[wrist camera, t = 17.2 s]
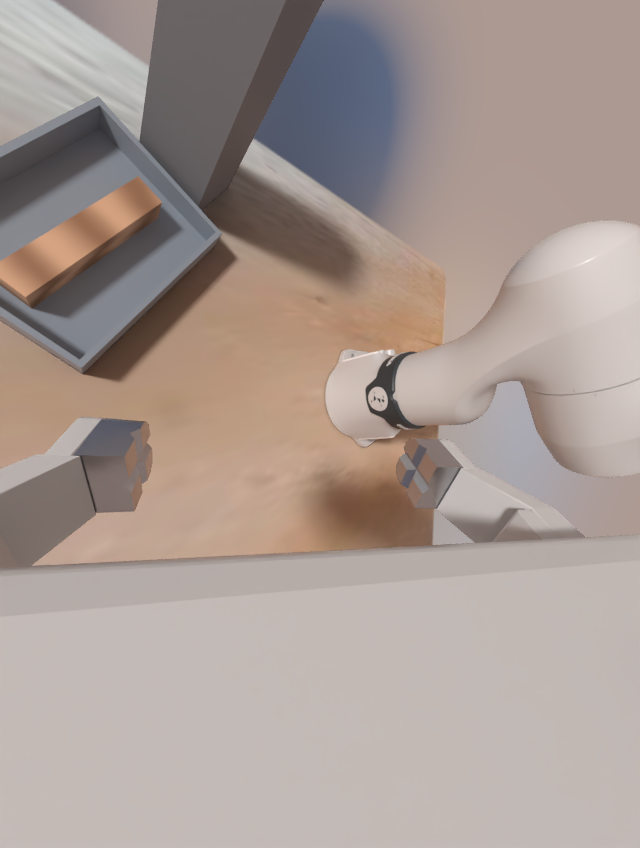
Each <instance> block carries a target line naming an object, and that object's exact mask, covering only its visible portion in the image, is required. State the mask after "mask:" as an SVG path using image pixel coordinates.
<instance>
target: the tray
mask: <svg viewBox="0 0 640 848" xmlns="http://www.w3.org/2000/svg"><path fill="white" fill-rule="evenodd" d="M138 176H139V178H140V179H141V180H142V181H143V182H144V183H145V184H146V185H147V186H148V187H149V188H150V190H151V191H152V192H153V193H154V194H155V195H156V196H157V197H158V198H159V199H160V200H161V202H162V205H161V209H160V212H159V216H158V218H157V219H156V220H154V221H153V222H152V223H150V224H149V225H147V226H146V227H145V228H143V229H142V230H140V231H139V232H138V233H136V234H135V235H133V236H132V237H131V238H129V239H128V240H126V241H125V242H124V243H122V244H121V245H120V246H118V247H117V248H115V249H114V250H113V251H111V252H110V253H108V254H107V255H106V256H104V257H103V258H101V259H100V260H99V261H97V262H96V263H95V264H93V265H92V266H90V267H89V268H88V269H86V270H85V271H83V272H82V273H81V274H79V275H78V276H76V277H75V278H74V279H72V280H71V281H69V282H68V283H67V284H65V285H64V286H63V287H61V288H60V289H58V290H57V291H56V292H54V293H53V294H51V295H50V296H49V297H47V298H46V299H44V300H43V301H42V302H40V303H39V304H37V305H36V306H35V307H33V308H32V309H31V308H30V307H29V306H27V305H26V304H25V303H23V302H22V301H21V300H19V299H18V298H17V297H15V296H14V295H12V294H11V293H10V292H8V291H7V290H6V289H4V288H3V287H2V286H0V321H2V322H3V323H5V324H6V325H8V326H9V327H11V328H12V329H14V330H15V331H17V332H19V333H20V334H22V335H23V336H25V337H26V338H28V339H29V340H31V341H32V342H34V343H36V344H37V345H39V346H40V347H42V348H43V349H45V350H46V351H48V352H49V353H51V354H52V355H54V356H56V357H57V358H59V359H60V360H62V361H63V362H65V363H66V364H68V365H69V366H71V367H73V368H74V369H76V370H77V371H79V372H80V373H82V374H84V373H85V372H86V371H87V370H88V369H89V368H90V367H91V366H92V365H93V364H94V363H95V362H96V361H97V360H98V359H99V358H100V357H101V356H102V355H103V354H104V353H105V352H106V351H107V350H108V349H110V348H111V347H112V346H113V345H114V344H115V343H116V342H117V341H118V340H119V339H120V338H121V337H122V336H123V335H124V334H125V333H126V332H127V331H128V330H129V329H130V328H131V327H132V326H133V325H134V324H135V323H136V322H137V321H138V320H139V319H140V318H142V317H143V316H144V315H145V314H146V313H147V312H148V311H149V310H150V309H151V308H152V307H153V306H154V305H155V304H156V303H157V302H158V301H159V300H160V299H161V298H162V297H163V296H164V295H165V294H166V293H167V292H168V291H169V290H170V289H171V288H172V287H173V286H175V285H176V284H177V283H178V282H179V281H180V280H181V279H182V278H183V277H184V276H185V275H186V274H187V273H188V272H189V271H190V270H191V269H192V268H193V267H194V266H195V265H196V264H197V263H198V262H199V261H200V260H201V259H202V258H203V257H204V256H205V255H207V254H208V253H209V252H210V251H211V250H212V249H213V248H214V246H215V245H216V243H217V241H218V240H219V238H220V236H221V235H222V233H221V231H220V230H219V229H218V228H217V227H216V226H215V225H214V224H213V223H212V222H211V220H210V219H209V218H208V217H207V216H206V215H205V214H204V213H203V212H202V210H201V209H200V208H199V207H198V206H197V205H196V204H195V203H194V202H193V201H192V199H191V198H190V197H189V196H188V195H187V194H186V193H185V192H184V191H183V190H182V188H181V187H180V186H179V185H178V184H177V183H176V182H175V181H174V180H173V178H172V177H171V176H170V175H169V174H168V173H167V172H166V171H165V170H164V169H163V167H162V166H161V165H160V164H159V163H158V162H157V161H156V160H155V159H154V158H153V156H152V155H151V154H150V153H149V152H148V151H147V150H146V149H145V148H144V146H143V145H142V144H141V143H140V142H139V141H138V140H137V139H136V138H135V137H134V135H133V134H132V133H131V132H130V131H129V130H128V129H127V128H126V127H125V125H124V124H123V123H122V122H121V121H120V120H119V119H118V118H117V117H116V116H115V114H114V113H113V112H112V111H111V110H110V109H109V108H108V107H107V106H106V105H105V103H104V102H103V101H102V100H101V99H100V98H99V97H96V98H94V99H92V100H90V101H88V102H86V103H84V104H82V105H80V106H79V107H77V108H75V109H73V110H71V111H69V112H67V113H65V114H63V115H61V116H59V117H57V118H55V119H53V120H51V121H49V122H47V123H45V124H43V125H41V126H39V127H37V128H35V129H33V130H31V131H30V132H28V133H26V134H24V135H22V136H20V137H18V138H16V139H14V140H12V141H10V142H8V143H6V144H4V145H2V146H0V261H1V260H3V259H5V258H6V257H8V256H9V255H11V254H13V253H14V252H16V251H18V250H19V249H21V248H22V247H24V246H26V245H27V244H29V243H31V242H32V241H34V240H35V239H37V238H39V237H40V236H42V235H44V234H45V233H47V232H48V231H50V230H52V229H53V228H55V227H57V226H58V225H60V224H61V223H63V222H65V221H66V220H68V219H70V218H71V217H73V216H74V215H76V214H78V213H79V212H81V211H83V210H84V209H86V208H87V207H89V206H91V205H92V204H94V203H96V202H97V201H99V200H100V199H102V198H104V197H105V196H107V195H109V194H110V193H112V192H113V191H115V190H117V189H118V188H120V187H122V186H123V185H125V184H126V183H128V182H130V181H131V180H133V179H135V178H136V177H138Z"/></svg>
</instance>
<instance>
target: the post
mask: <svg viewBox="0 0 640 848" xmlns="http://www.w3.org/2000/svg"><path fill="white" fill-rule="evenodd" d="M323 1H324V0H158V7H157V15H156V22H155V29H154V37H153V44H152V52H151V59H150V67H149V74H148V82H147V89H146V97H145V104H144V112H143V119H142V127H141V134H140V143H141V144H142V145H143V146H144V148H145V149H146V150H147V151H148V152H149V153H150V154H151V155H152V156H153V158H154V159H155V160H156V161H157V162H158V163H159V164H160V165H161V166H162V167H163V169H164V170H165V171H166V172H167V173H168V174H169V175H170V176H171V177H172V178H173V180H174V181H175V182H176V183H177V184H178V185H179V186H180V187H181V188H182V190H183V191H184V192H185V193H186V194H187V195H188V196H189V197H190V198H191V199H192V201H193V202H194V203H195V204H196V205H197V206H198V207H199V208H200V209H201V210H203V209H204V208H205V207H206V206H207V205H208V204H210V203H211V202H212V201H213V200H214V199H215V198H216V197H218V196H219V195H220V194H221V193H222V192H223V191H225V190H226V189H227V188H228V186H229V185H230V183H231V181H232V179H233V177H234V175H235V173H236V171H237V169H238V167H239V165H240V163H241V161H242V159H243V157H244V155H245V153H246V151H247V149H248V147H249V145H250V143H251V142H252V140H253V138H254V136H255V134H256V132H257V130H258V128H259V126H260V124H261V122H262V120H263V118H264V116H265V114H266V112H267V110H268V108H269V106H270V104H271V102H272V100H273V99H274V97H275V95H276V93H277V91H278V89H279V87H280V85H281V83H282V81H283V79H284V77H285V75H286V73H287V71H288V69H289V67H290V65H291V63H292V61H293V59H294V57H295V55H296V54H297V51H298V50H299V48H300V46H301V44H302V42H303V40H304V38H305V36H306V34H307V32H308V30H309V28H310V26H311V24H312V22H313V20H314V18H315V16H316V14H317V12H318V11H319V9H320V7H321V5H322V2H323Z"/></svg>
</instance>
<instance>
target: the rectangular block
mask: <svg viewBox="0 0 640 848" xmlns="http://www.w3.org/2000/svg"><path fill="white" fill-rule="evenodd" d="M161 205H162V202H161V200H160V199H159V198H158V197H157V196H156V195H155V194H154V193H153V192H152V191H151V190H150V188H149V187H148V186H147V185H146V184H145V183H144V182H143V181H142V180H141V179H140V178H139V176H138V177H136V178H135V179H133V180H131V181H130V182H128V183H126V184H125V185H123V186H122V187H120V188H118V189H117V190H115V191H113V192H112V193H110V194H109V195H107V196H105V197H104V198H102V199H100V200H99V201H97V202H96V203H94V204H92V205H91V206H89V207H87V208H86V209H84V210H83V211H81V212H79V213H78V214H76V215H74V216H73V217H71V218H70V219H68V220H66V221H65V222H63V223H61V224H60V225H58V226H57V227H55V228H53V229H52V230H50V231H48V232H47V233H45V234H44V235H42V236H40V237H39V238H37V239H35V240H34V241H32V242H31V243H29V244H27V245H26V246H24V247H22V248H21V249H19V250H18V251H16V252H14V253H13V254H11V255H9V256H8V257H6V258H5V259H3V260H1V261H0V286H2V287H3V288H4V289H6V290H7V291H8V292H10V293H11V294H12V295H14V296H15V297H17V298H18V299H19V300H21V301H22V302H23V303H25V304H26V305H27V306H29V307H30V308H31V309H32V308H33V307H35V306H36V305H37V304H39V303H40V302H42V301H43V300H44V299H46V298H47V297H49V296H50V295H51V294H53V293H54V292H56V291H57V290H58V289H60V288H61V287H63V286H64V285H65V284H67V283H68V282H69V281H71V280H72V279H74V278H75V277H76V276H78V275H79V274H81V273H82V272H83V271H85V270H86V269H88V268H89V267H90V266H92V265H93V264H95V263H96V262H97V261H99V260H100V259H101V258H103V257H104V256H106V255H107V254H108V253H110V252H111V251H113V250H114V249H115V248H117V247H118V246H120V245H121V244H122V243H124V242H125V241H126V240H128V239H129V238H131V237H132V236H133V235H135V234H136V233H138V232H139V231H140V230H142V229H143V228H145V227H146V226H147V225H149V224H150V223H152V222H153V221H154V220H156V219H157V218H158V216H159V212H160V209H161Z"/></svg>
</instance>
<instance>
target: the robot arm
mask: <svg viewBox="0 0 640 848" xmlns="http://www.w3.org/2000/svg"><path fill="white" fill-rule="evenodd" d="M351 356H352V357H351ZM507 381H520V382H521V384H522V385H523V388H524V391H525V394H526V397H527V401H528V404H529V407H530V411H531V414H532V417H533V421H534V424H535V427H536V430H537V432H538V434H539V435H540V437H541V439H542V440H543V442H544V444H545V445H546V447H547V448H548V450H549V451H550V453H551V454H552V456H553V457H554V459H555V460H556V461H557V462H558V463H559V464H560V465H561V466H563V467H565V468H566V469H569V470H571V471H573V472H576V473H580V474H583V475H588V476H593V477H606V478H610V477H611V478H613V477H624V476H630V475H634V474H638V473H640V226H638V225H635V224H632V223H628V222H622V221H611V220H603V221H592V222H586V223H582V224H578V225H575V226H571V227H569V228H566V229H563V230H561V231H559V232H556V233H555V234H553V235H551V236H549V237H547V238H545V239H544V240H542V241H541V242H539V243H538V244H536V245H535V246H534V247H532V248H531V249H530V250H529V251H528V252H526V253H525V254H524V255H523V256H522V257H521V258H520V259H519V260H518V261H517V263H516V264H515V265H514V266H513V268H512V269H511V270H510V272H509V273H508V275H507V276H506V278H505V280H504V282H503V284H502V286H501V289H500V291H499V294H498V296H497V298H496V300H495V302H494V303H493V305H492V307H491V308H490V310H489V311H488V313H487V314H486V315H485V316H484V318H483V319H482V320H481V321H480V322H479V323H478V324H477V325H476V326H475V327H474V328H473V329H472V330H470V331H469V332H468V333H466V334H465V335H463V336H461V337H460V338H458V339H456V340H453V341H451V342H449V343H446V344H443V345H440V346H437V347H434V348H431V349H428V350H425V351H421V352H418V353H417V352H405V353H399V354H397V355H396V353H395V350H386V351H385V350H379V351H376V352H372V353H370V352H363V351H357V350H350V349H347V350H343V351H342V352H341V355H340V358H339V362H338V365H337V366H336V368H335V369H334V370H333V372H332V373H331V375H330V377H329V379H328V382H327V386H326V394H325V398H326V406H327V410H328V414H329V416H330V418H331V420H332V422H333V424H334V425H335V426H336V427H337V429H338V430H339V431H341V432H342V433H343V434H345V435H347V436H350V437H351V438H353V439H354V440H355V441H356V443H357V444H358V445H359V446H361V447H367V446H369V445H370V444H372V443H373V442H374V441H376V440H377V439H383V438H393V437H395V435H396V434H398V433H399V432H400V431H401V430H402V429H405V430H413V429H419V428H423V427H425V426H429V425H457V424H466V423H470V422H472V421H474V420H476V419H478V418H479V417H480V416H482V415H483V414H484V413H485V412H486V411H487V409H488V408H489V406H490V403H491V402H492V399H493V397H494V394H495V390H496V387H497V384H499V383H502V382H507ZM149 436H150V430H149V424H148V423H147V422H145V421H133V420H120V419H108V418H105V419H104V418H94V417H80V418H78V419H76V421H75V422H74V423H73V424H72V425H71V426H70V427H69V428H68V429H67V430H66V431H65V432H64V434H63V435H62V436H61V437H60V438H59V439H58V440H57V441H56V442H55V443H54V444H53V445H52V447H51V448H50V449H49V450H48V451H47V452H46V453H45V454H44V455H34V456H31V457H29V458H26V459H24V460H21V461H19V462H16V463H14V464H11V465H9V466H6V467H4V468H2V469H0V848H640V534H639V535H619V536H600V537H585V536H584V535H582V534H581V533H580V532H579V531H578V530H577V529H576V528H575V527H574V526H573V525H572V524H571V523H569V522H568V521H567V520H566V519H565V518H564V517H563V516H562V515H561V514H560V513H559V512H558V511H557V510H555V509H554V508H553V507H551V506H549V505H547V504H545V503H543V502H542V501H540V500H538V499H536V498H534V497H532V496H531V495H529V494H527V493H525V492H523V491H521V490H519V489H518V488H516V487H514V486H512V485H510V484H508V483H507V482H505V481H503V480H501V479H499V478H497V477H495V476H494V475H492V474H490V473H488V472H486V471H484V470H483V469H478V468H477V467H476V466H475V465H474V464H473V463H472V462H471V461H470V460H469V459H468V458H467V457H466V456H465V455H464V454H463V453H462V452H461V450H460V449H459V448H458V447H457V446H456V445H455V444H454V443H453V442H452V441H450V440H442V439H435V440H434V439H409V440H408V441H407V442H406V444H405V446H404V450H405V454H403V455H402V456H401V457H400V458H399V460H398V462H397V465H396V474H397V478H398V480H399V482H400V484H402V485H403V486H404V487H406V488H407V492H406V494H407V496H408V497H409V499H410V501H411V503H412V504H413V506H414V508H434V509H437V511H439V512H440V513H441V514H442V515H443V516H444V517H446V518H447V519H448V520H449V521H450V522H452V523H453V524H454V525H455V526H456V527H457V528H458V529H460V530H461V531H462V532H463V533H464V534H465V535H467V536H468V537H469V538H470V539H472V540H473V541H474V542H475V543H467V544H447V545H427V546H408V547H388V548H369V549H350V550H330V551H311V552H292V553H273V554H254V555H235V556H216V557H196V558H177V559H158V560H139V561H119V562H100V563H81V564H62V565H43V566H31V565H33V564H34V563H35V562H36V561H38V560H39V559H40V558H42V557H43V556H44V555H45V554H47V553H48V552H49V551H50V550H52V549H53V548H54V547H55V546H57V545H58V544H59V543H61V542H62V541H63V540H64V539H66V538H67V537H68V536H69V535H71V534H72V533H73V532H74V531H76V530H77V529H78V528H80V527H81V526H82V525H83V524H85V523H86V522H87V521H88V520H90V519H91V518H92V517H93V516H95V515H96V513H103V512H131V511H135V509H136V507H137V504H138V502H139V499H140V497H141V495H142V485H141V484H143V483H144V482H146V481H147V480H148V478H149V475H150V472H151V467H152V447H151V446H150V445H149V444H147V441H148V439H149Z"/></svg>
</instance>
